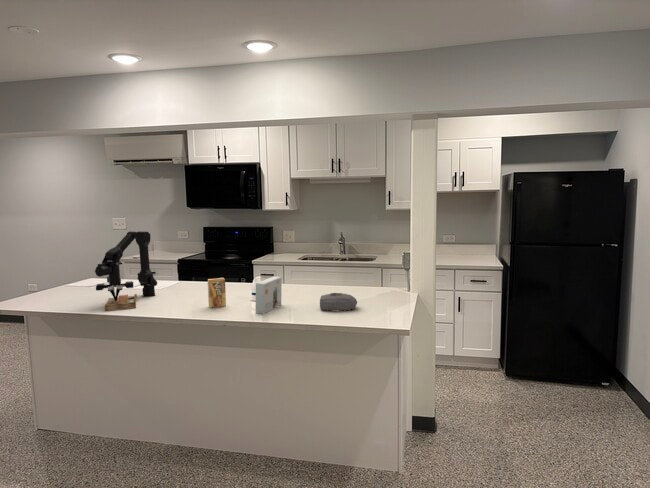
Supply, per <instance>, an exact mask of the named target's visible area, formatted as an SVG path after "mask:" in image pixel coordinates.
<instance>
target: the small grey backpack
mask: <svg viewBox="0 0 650 488" xmlns="http://www.w3.org/2000/svg"><path fill="white" fill-rule="evenodd" d="M357 305H358V301H357V298H355V297H354V296H353V295H351V294H348V293H342V292H330V293H327V294H323V295H321V296H320V298H319V308H320V310H321V311H325V310H347V311H352V310H351V309H353V310H356V308H357ZM355 307H356V308H355Z"/></svg>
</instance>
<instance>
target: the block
mask: <svg viewBox="0 0 650 488" xmlns="http://www.w3.org/2000/svg"><path fill="white" fill-rule="evenodd" d="M118 297H119V303H123V302H128V297H129V295H128V294H123V295H122V294H120V295H119V294H118Z"/></svg>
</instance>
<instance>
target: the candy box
mask: <svg viewBox="0 0 650 488" xmlns="http://www.w3.org/2000/svg"><path fill="white" fill-rule="evenodd" d="M207 296H208V307H209V308H210V309H213V308H212V307H214V308H219V307H221V308H222V307H226V306H227V297H226V296H227V295H226V279H225V278H224V277H219V278H218V277H217V278H208V279H207Z"/></svg>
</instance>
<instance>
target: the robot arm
mask: <svg viewBox="0 0 650 488" xmlns="http://www.w3.org/2000/svg"><path fill="white" fill-rule="evenodd" d="M134 240H135V242H136V245H138V249H139V261H140V271H139V272H138V273H137V280H138V283H139V285H140V286H141V287H142V296H143V297H144V298H145V297H155V296H156V291H155V287H156V286H157V285H158V281H157V280H156V279H155V278H154V274H153V272H152V270H151V268H150V255H149V245H150V242H151V233H150V232H149V231H146V230H145V231H131V230H129V231H128V232H127V233H126V235H125V236H124V237H122V239H121V240H120V241H119V243H117V244H116V245H115V246H114V247H112V248H110V249H109V250H108V251H106V253H105V254H104V258H103V259H102V261H101V263H98V264H97V266H96V267H95V270H94V273H95V275H96V276H97V277H99V278H101V277H104V276H106V282H107V283H109V284H105V283H97V284H96V285H95V291H103V290H104V289H107V292H110V294H111V296H112V298H114V300H115V301H117V298H118V297H119V294H120V291H123V288H124V287H125V288H126V289H132V288H134V281H125V283H122V279H121V269H120V266H121V265H123V262H121V261H120V260H121V259H122V258H123V256H124V251H125V250H126V249H127V248H128V247H129V246H130V245H131V244H132V242H133V241H134ZM115 288H116V289H115ZM115 290H116V291H115Z"/></svg>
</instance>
